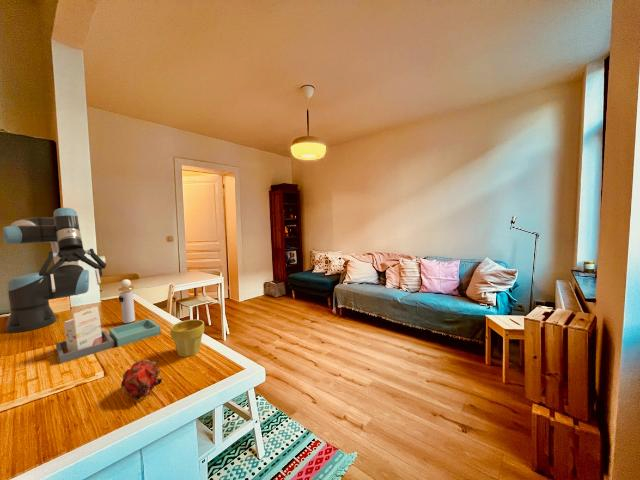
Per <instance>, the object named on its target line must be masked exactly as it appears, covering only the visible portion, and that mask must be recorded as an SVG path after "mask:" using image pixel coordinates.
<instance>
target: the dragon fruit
mask: <svg viewBox="0 0 640 480" xmlns="http://www.w3.org/2000/svg"><path fill="white" fill-rule="evenodd" d="M158 364H159V363H158V362H157V361H152V360H149V359H145V358H144V359H142V360H139V361H137V362H135V363H133V364H132V365H131V366H130V368H129V369H127V370H126V371H125V372H124V373H123V374H122V382H121V384H120V387H121V389H122V390H124V391H125V393H126V394H128V395H130V396H131V397H132V398H133V399H135V400H140V398H141V397H142V396H145V397H146V396H148V395H149V394H150V393H151V390H152V389H154V388H155V387H156V386H158V385H160V384H161V383H162V381H163V379H164V378H163V377H161V378H160V377H159V375H160V372H161V370H159V369H158V368H157V367H158ZM158 377H159V378H158Z"/></svg>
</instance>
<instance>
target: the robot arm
mask: <svg viewBox="0 0 640 480" xmlns="http://www.w3.org/2000/svg"><path fill="white" fill-rule="evenodd" d="M38 222H39V223H38ZM2 235H3V241H4V243H5V245H21V244H22V245H23V244H35V243H50V247H51V251H49V252H48V257H47V258H46V260H45V261H44V263H43V264H42V266H41V268H40V270H39V271H38V272H32V273H27V274H21V275H19V276H16V277H12V278H10V279H9V280H8V281H7V293H8V300H9V301H8V302H9V309H10V312H9V313H10V314H9V316H8V319H7V323H6V325H5V331H6V332H7V333H20V332H27V331H33V330H36V329H41V328H45V327H46V326H49V325H52V324H54V323H56V322H57V316H56V314H55V312H54V311H53V309H52V308H51V305H50V302H49V301H50V300H52V299H60V298H65V297H71V296H79V295H83V294H86V293H88V292H89V288H90V287H89V285H90V284H89V283H90V271H89V269H84V267H83V266H81V265H80V264H79V261H81V262H82V263H85V264H86V265H89V266H90V267H91V268H93V269H94V272H95V278H96V283H97V284H96V285H97V286H101V284H102V282H101V277H103V269H105V268H106V267H107V264H106V263H105V261H103V260H102V259H101V258H100V257H99V255H98V254H96V252H95V251H94V249H93V248H89V249H87V250H85V249H84V246H83V245H84V244H83V240H82V235H81V229H80V224H79V216H78V213H77V211H76V209H74V208H71V207H60V208H57V209H54V211H53V216H51V217H49V216H45V217H41V216H40V217H39V216H37V217H34V216H33V217H32V216H31V217H25V218H22V219H18V220H15V221H13V222H11V224H10V225H8V226H4V227H3V228H2ZM86 254H87V255H88V256H90V257H91V258H92V259H93V260H92V259H90V258H88V257H87V256H86ZM52 262H53V265H52V266H51V267H50V265H51V263H52ZM49 267H50V268H49ZM48 268H49V269H48ZM47 269H48V270H47Z"/></svg>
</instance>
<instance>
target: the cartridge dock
mask: <svg viewBox="0 0 640 480" xmlns="http://www.w3.org/2000/svg"><path fill="white" fill-rule="evenodd" d="M101 334H102V339H103V340H104V342H103V341H102V343H100V344H96V345H93V346H89V347H86V348H82V349H79V350H75V351H72V352H68V351H67V352H66V353H64V351H63V350H65V348H66V349H67V342H66V340H65V341H64V340H63V341H60V342H59V341H58V342H56V343H55V349H56V354H57V353H58V354H57V356H58V360H59V363H60V364H63V363H62V362H64V363H66V361H67V362H70V361H73V359H74V360H75V359H76V360H77V359H80V358H83V357H86V355H87V356H90V355H92V354H93V355H94V354H95V353H99V352H102V351H106V350H109V349H112V348H115V342H114V340H113V339H112V338H111V337H110V335H109V333H108V331H106V330H101ZM89 354H90V355H89Z"/></svg>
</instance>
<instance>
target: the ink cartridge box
mask: <svg viewBox="0 0 640 480" xmlns="http://www.w3.org/2000/svg"><path fill="white" fill-rule="evenodd" d="M72 315H73V318H72V319H69V320H66V321H65V320H64V322H63V324H64V325H63V326H64V333H65V341H66V342H67V348H66V349H67V353H68V352H72V351H75V350H79V349H82V348H86V347H89V346H93V345H96V344H100V343H103V338H102V334H101V331H102V325H101V318H100V317H101V316H100V312H99V307H98V306H94V307H90V308H87V309H83V310H81V311H78V312H74V313H73V314H72Z"/></svg>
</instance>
